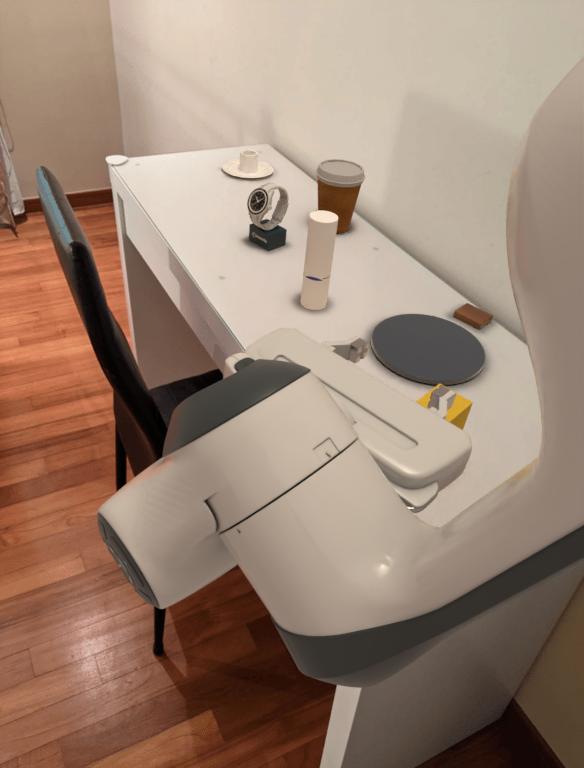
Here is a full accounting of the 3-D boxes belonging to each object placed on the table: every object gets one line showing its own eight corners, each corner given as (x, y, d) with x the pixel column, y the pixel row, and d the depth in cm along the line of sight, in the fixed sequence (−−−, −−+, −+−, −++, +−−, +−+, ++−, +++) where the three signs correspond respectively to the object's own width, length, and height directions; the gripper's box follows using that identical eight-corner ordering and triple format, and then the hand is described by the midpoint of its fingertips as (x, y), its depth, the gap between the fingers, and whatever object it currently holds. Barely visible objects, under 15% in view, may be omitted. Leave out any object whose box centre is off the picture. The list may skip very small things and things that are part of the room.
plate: (492, 339, 96) (494, 334, 95) (470, 400, 84) (472, 395, 83) (390, 307, 101) (391, 302, 100) (355, 361, 88) (356, 356, 88)
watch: (240, 242, 114) (242, 185, 107) (272, 231, 119) (276, 176, 112) (260, 254, 111) (264, 196, 104) (292, 242, 116) (297, 186, 109)
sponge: (430, 477, 72) (449, 422, 66) (399, 457, 74) (415, 401, 68) (453, 457, 75) (473, 402, 69) (422, 437, 77) (439, 383, 71)
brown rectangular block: (479, 330, 98) (481, 324, 97) (452, 316, 100) (454, 310, 100) (491, 321, 100) (493, 315, 99) (465, 308, 103) (467, 302, 102)
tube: (318, 294, 102) (329, 209, 93) (331, 307, 99) (343, 220, 90) (295, 298, 100) (304, 212, 91) (307, 312, 98) (318, 224, 88)
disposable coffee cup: (357, 219, 127) (366, 161, 119) (356, 239, 119) (366, 179, 112) (311, 213, 127) (318, 155, 119) (308, 233, 119) (314, 173, 112)
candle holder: (234, 183, 136) (235, 164, 133) (213, 164, 144) (213, 145, 141) (282, 177, 141) (283, 159, 138) (259, 159, 149) (260, 141, 146)
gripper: (420, 492, 39) (519, 400, 48) (212, 348, 50) (323, 292, 58) (400, 550, 43) (495, 456, 52) (212, 406, 54) (316, 346, 62)
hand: (403, 369), depth 55 cm, fingers open, 8 cm apart
